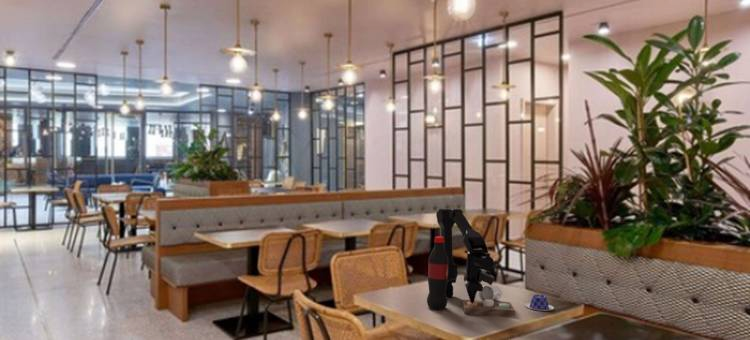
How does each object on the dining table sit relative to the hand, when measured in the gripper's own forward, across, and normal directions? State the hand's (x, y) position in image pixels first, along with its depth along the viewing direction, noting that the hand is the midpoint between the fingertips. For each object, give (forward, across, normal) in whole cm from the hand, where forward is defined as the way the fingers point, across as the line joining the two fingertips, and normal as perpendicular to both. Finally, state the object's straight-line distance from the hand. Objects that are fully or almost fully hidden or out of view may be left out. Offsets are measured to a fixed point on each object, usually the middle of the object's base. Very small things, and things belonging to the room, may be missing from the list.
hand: (472, 302), depth 221 cm
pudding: (+4, +10, -30) cm, 31 cm away
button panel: (+3, 0, -6) cm, 7 cm away
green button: (+3, 0, -13) cm, 13 cm away
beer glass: (0, +19, -12) cm, 22 cm away
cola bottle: (+3, 0, +14) cm, 15 cm away
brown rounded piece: (+3, 0, 0) cm, 3 cm away
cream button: (+2, 0, -6) cm, 7 cm away
